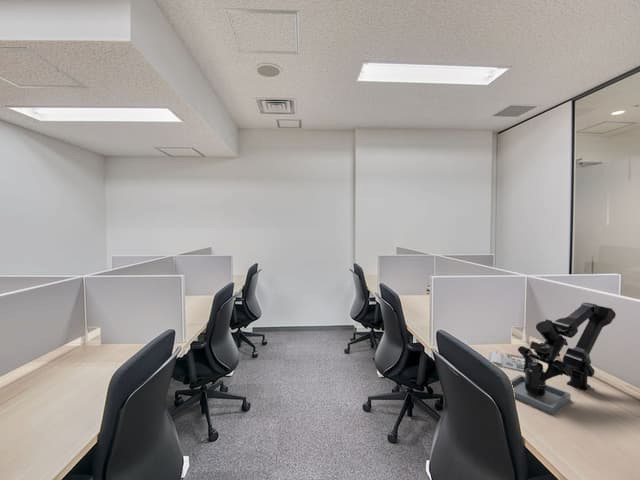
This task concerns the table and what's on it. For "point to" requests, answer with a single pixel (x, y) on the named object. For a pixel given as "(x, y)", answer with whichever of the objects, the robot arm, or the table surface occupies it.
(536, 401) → the tray
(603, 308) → the robot arm
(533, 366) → the supplement bottle
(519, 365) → the office telephone
